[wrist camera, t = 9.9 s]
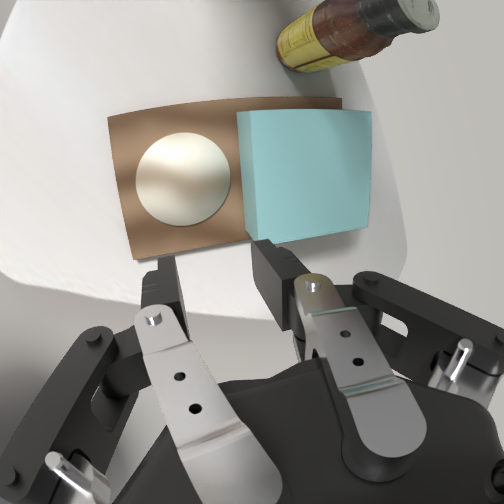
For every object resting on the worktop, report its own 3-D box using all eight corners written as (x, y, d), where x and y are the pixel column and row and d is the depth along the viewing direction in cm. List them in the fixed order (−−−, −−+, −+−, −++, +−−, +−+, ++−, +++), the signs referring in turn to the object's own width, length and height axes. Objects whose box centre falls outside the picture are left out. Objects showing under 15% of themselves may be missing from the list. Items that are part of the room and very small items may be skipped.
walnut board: (109, 117, 26) (106, 117, 25) (337, 98, 32) (343, 98, 31) (134, 256, 33) (133, 261, 32) (337, 220, 39) (342, 223, 38)
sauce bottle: (329, 45, 29) (463, 15, 12) (308, 84, 31) (445, 72, 13) (284, 16, 26) (401, -50, 9) (260, 55, 28) (374, 0, 11)
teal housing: (236, 112, 29) (249, 110, 24) (345, 110, 31) (371, 111, 27) (245, 229, 34) (258, 246, 30) (344, 213, 37) (367, 227, 33)
